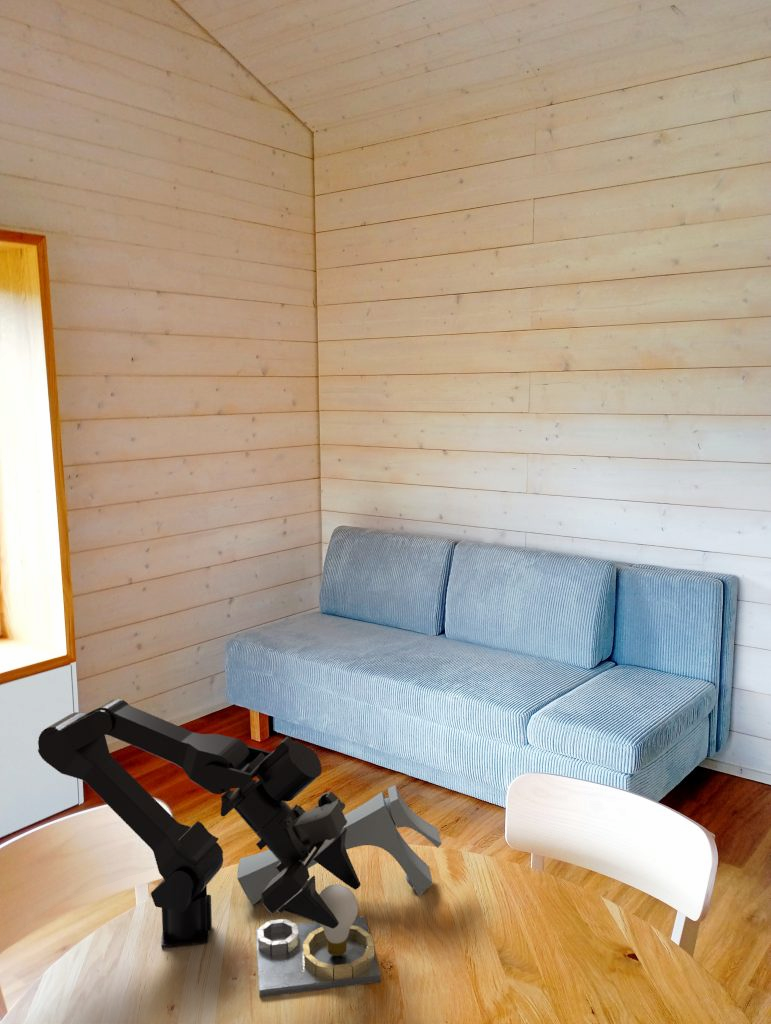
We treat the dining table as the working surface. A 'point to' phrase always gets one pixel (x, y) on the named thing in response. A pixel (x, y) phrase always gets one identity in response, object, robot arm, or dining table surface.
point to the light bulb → (339, 916)
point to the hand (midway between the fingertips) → (347, 906)
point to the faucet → (358, 843)
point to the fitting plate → (302, 978)
